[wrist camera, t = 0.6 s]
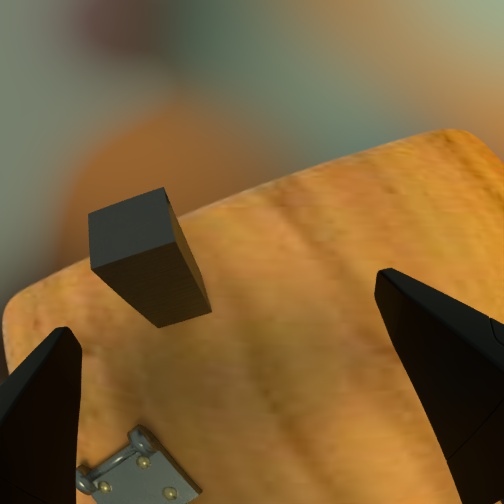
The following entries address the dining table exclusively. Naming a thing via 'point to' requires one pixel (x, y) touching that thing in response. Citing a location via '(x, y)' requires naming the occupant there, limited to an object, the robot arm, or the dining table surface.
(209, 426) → the dining table surface
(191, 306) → the dark grey block
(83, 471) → the fixed hinge leaf
